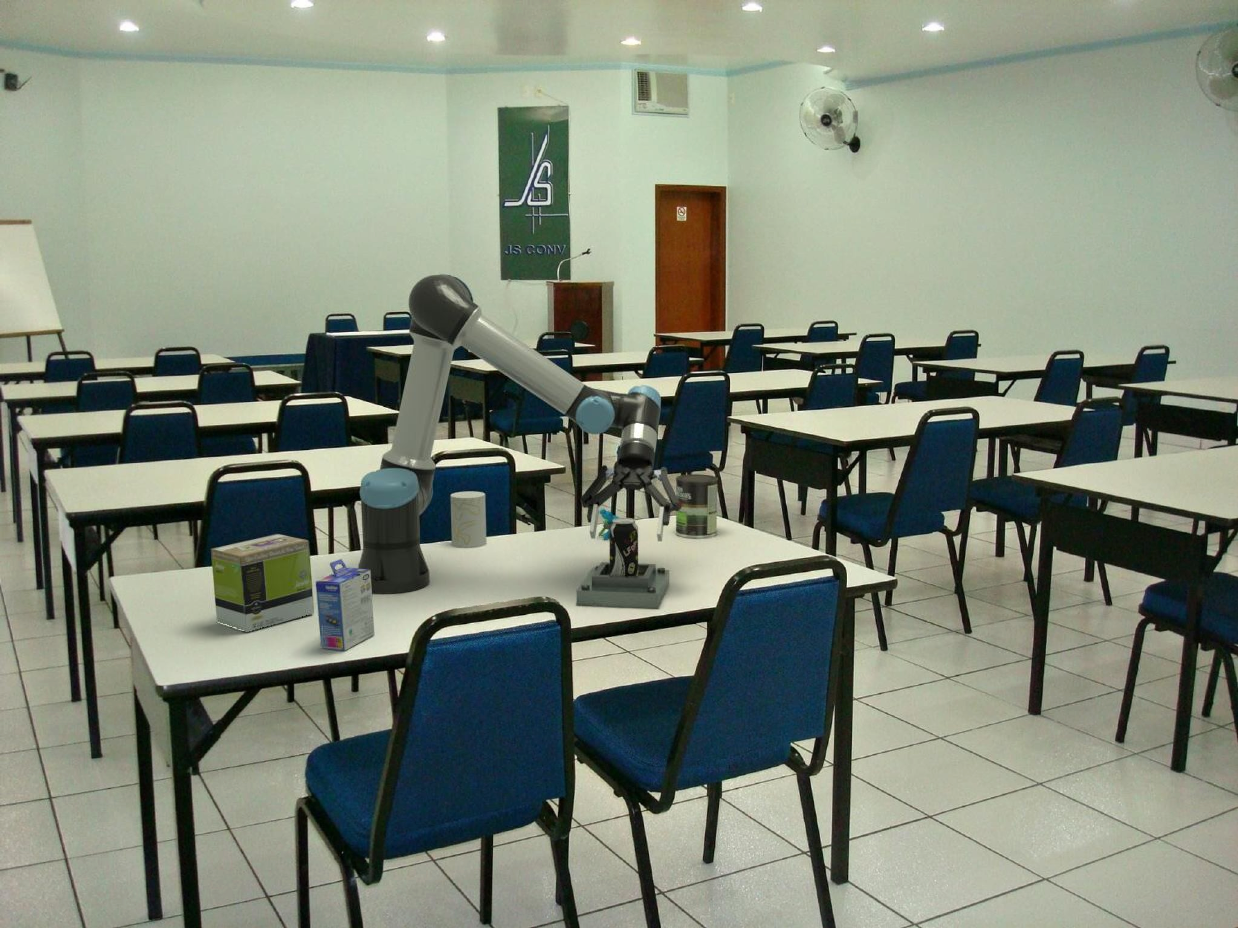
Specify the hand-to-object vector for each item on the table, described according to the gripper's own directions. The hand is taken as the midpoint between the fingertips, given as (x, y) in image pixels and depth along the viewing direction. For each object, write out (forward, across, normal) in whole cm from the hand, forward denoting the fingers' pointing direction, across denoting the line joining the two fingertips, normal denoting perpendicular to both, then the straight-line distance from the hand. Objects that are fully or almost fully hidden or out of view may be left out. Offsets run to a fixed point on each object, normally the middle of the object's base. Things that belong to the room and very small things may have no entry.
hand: (625, 536), depth 231 cm
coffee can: (-31, -9, -48) cm, 57 cm away
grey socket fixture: (+9, 0, -8) cm, 12 cm away
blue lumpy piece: (-26, +10, -43) cm, 51 cm away
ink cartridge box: (+35, +44, +18) cm, 59 cm away
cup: (-17, +44, -35) cm, 59 cm away
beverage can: (+7, 0, -6) cm, 9 cm away
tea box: (+28, +64, +11) cm, 71 cm away
